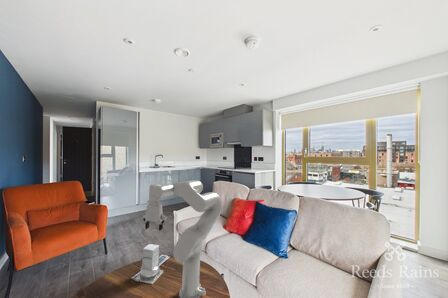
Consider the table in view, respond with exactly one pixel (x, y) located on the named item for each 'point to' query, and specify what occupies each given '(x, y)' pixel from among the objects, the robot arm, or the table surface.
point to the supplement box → (150, 257)
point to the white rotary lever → (149, 275)
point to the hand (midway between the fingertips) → (153, 229)
